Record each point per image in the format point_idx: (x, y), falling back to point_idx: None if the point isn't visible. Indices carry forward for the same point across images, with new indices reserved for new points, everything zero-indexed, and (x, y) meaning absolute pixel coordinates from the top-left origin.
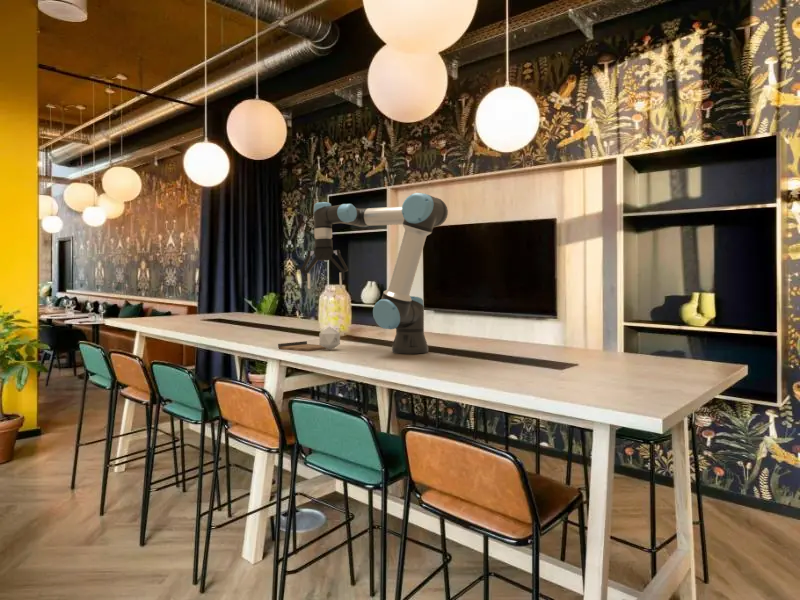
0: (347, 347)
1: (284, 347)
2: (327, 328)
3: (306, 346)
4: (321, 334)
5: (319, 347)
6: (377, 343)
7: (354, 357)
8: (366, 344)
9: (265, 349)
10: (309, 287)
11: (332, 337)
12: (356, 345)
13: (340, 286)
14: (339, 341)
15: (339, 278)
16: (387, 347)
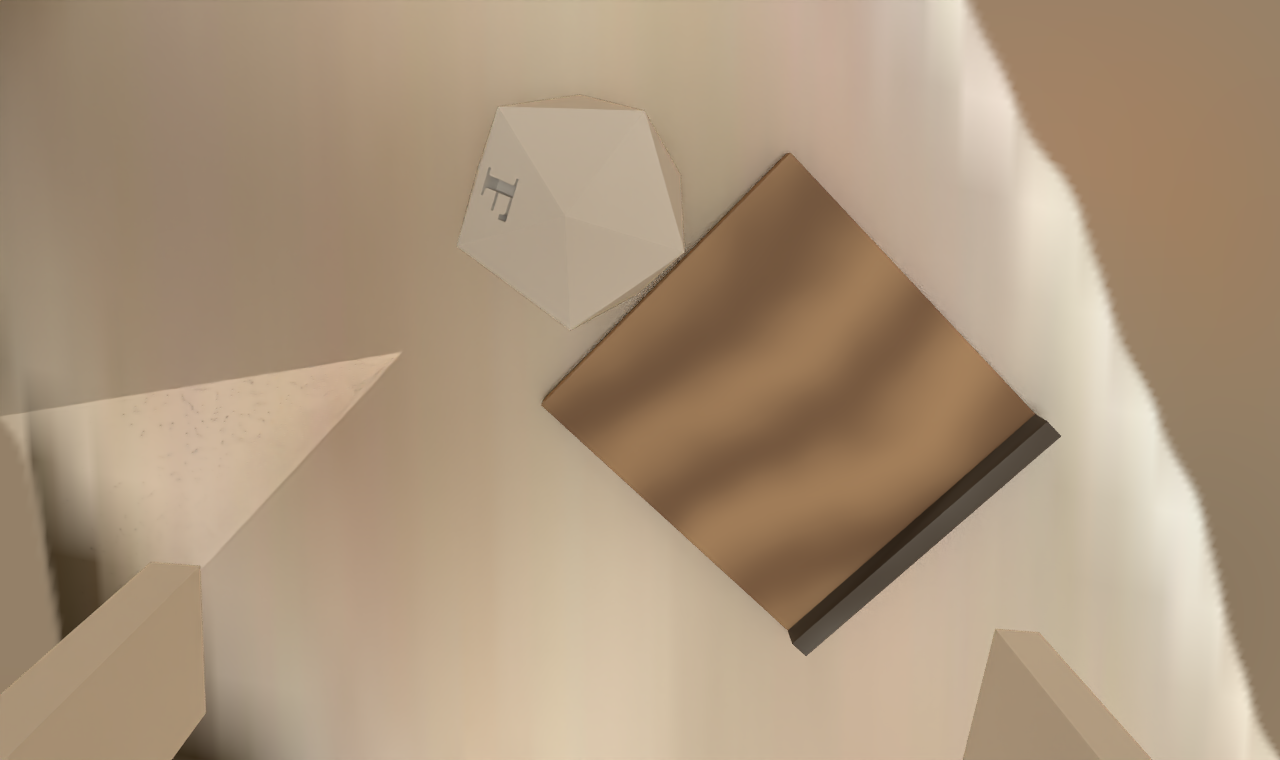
0: (425, 440)
1: (992, 370)
2: (592, 200)
3: (795, 390)
4: (662, 165)
5: (677, 268)
6: None
7: None
8: (263, 676)
9: (1147, 409)
10: (1010, 649)
11: (542, 101)
12: (349, 605)
13: (161, 581)
14: (477, 170)
15: (24, 739)
16: (54, 363)
